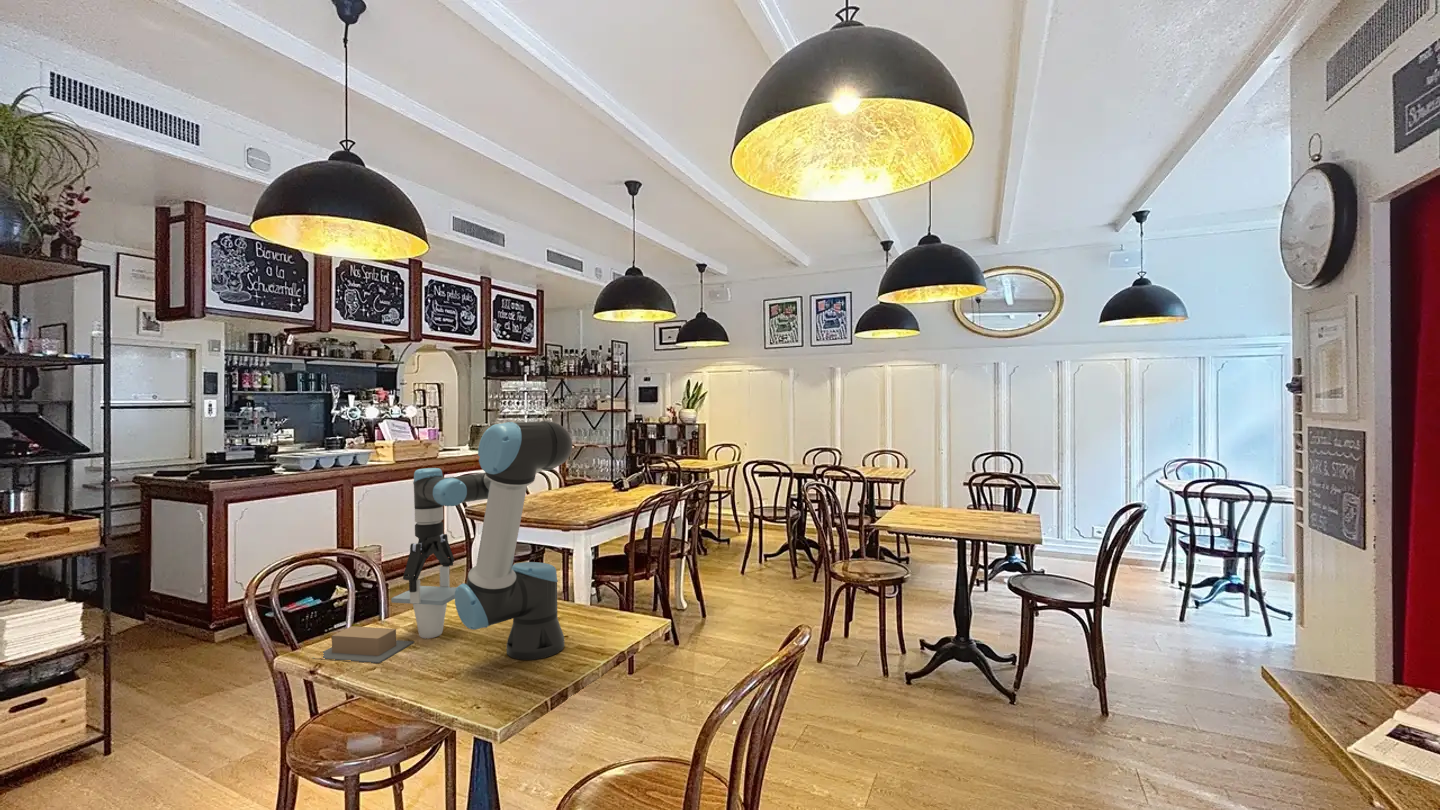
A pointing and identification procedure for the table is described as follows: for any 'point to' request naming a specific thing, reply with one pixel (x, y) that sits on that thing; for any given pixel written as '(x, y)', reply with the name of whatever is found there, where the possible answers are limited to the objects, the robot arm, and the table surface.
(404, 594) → the sheet
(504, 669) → the table surface
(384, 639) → the brown block on plate
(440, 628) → the cup
